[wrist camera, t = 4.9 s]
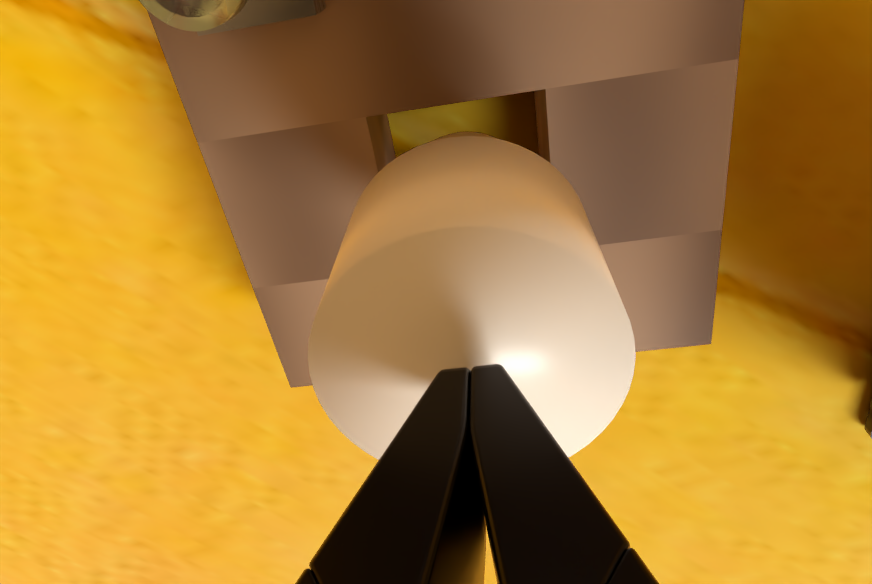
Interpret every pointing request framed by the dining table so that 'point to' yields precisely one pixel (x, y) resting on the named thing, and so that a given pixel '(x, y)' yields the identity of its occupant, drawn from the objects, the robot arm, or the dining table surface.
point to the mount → (465, 81)
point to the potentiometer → (229, 13)
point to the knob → (470, 294)
